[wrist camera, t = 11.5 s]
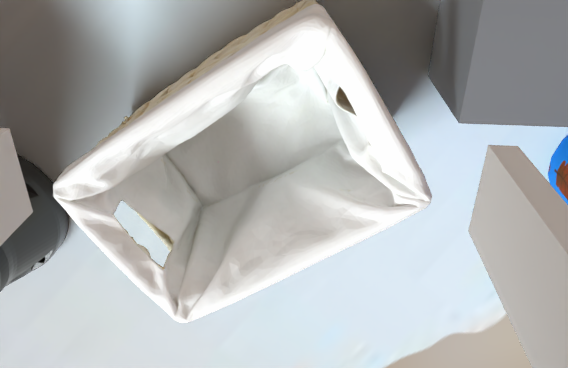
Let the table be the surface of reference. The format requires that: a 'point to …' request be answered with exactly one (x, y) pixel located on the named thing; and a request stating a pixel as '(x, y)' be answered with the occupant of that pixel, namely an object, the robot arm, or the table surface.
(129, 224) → the table surface
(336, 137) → the storage basket
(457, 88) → the box
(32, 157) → the table surface
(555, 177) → the thermos
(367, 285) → the table surface
